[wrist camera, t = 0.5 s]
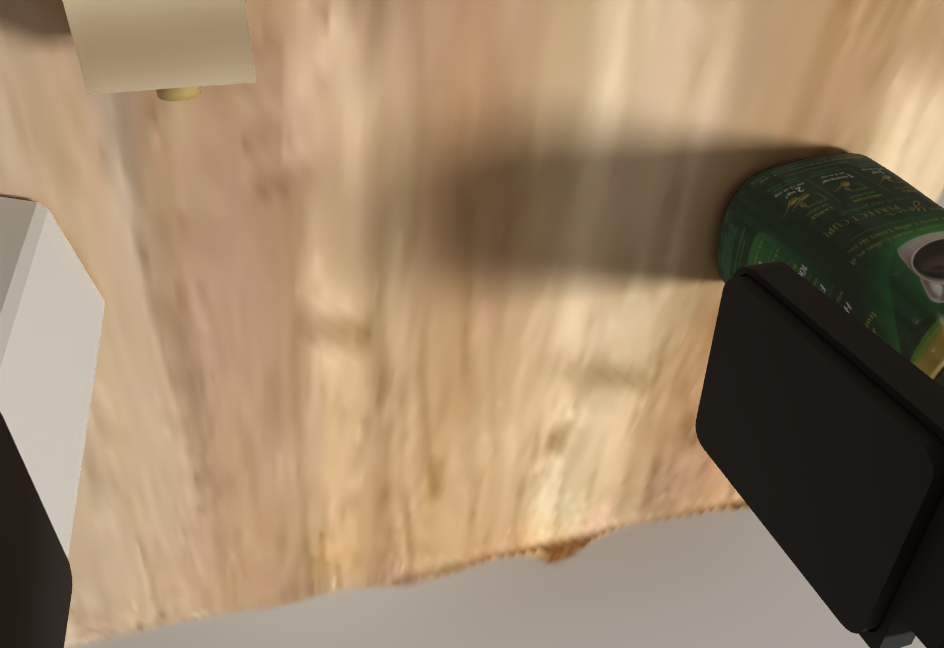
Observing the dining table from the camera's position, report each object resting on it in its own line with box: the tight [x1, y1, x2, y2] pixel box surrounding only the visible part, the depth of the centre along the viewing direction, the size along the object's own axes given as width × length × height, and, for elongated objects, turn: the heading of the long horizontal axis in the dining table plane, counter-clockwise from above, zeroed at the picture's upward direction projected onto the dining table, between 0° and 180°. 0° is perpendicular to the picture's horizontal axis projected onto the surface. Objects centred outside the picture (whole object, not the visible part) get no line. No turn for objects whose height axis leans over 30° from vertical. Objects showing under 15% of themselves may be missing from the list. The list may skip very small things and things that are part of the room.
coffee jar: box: [717, 153, 944, 388], centre depth 36 cm, size 10×8×19 cm
